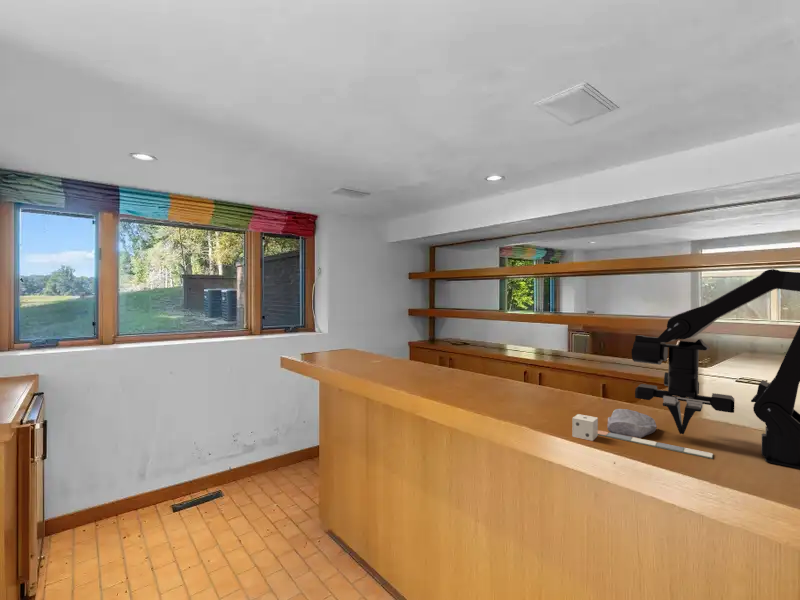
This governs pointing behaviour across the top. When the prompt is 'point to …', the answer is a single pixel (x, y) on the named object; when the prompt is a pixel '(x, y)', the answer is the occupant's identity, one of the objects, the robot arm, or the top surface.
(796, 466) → the robot arm
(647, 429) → the stone block
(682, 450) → the strip
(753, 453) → the top surface
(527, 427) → the top surface
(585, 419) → the die
